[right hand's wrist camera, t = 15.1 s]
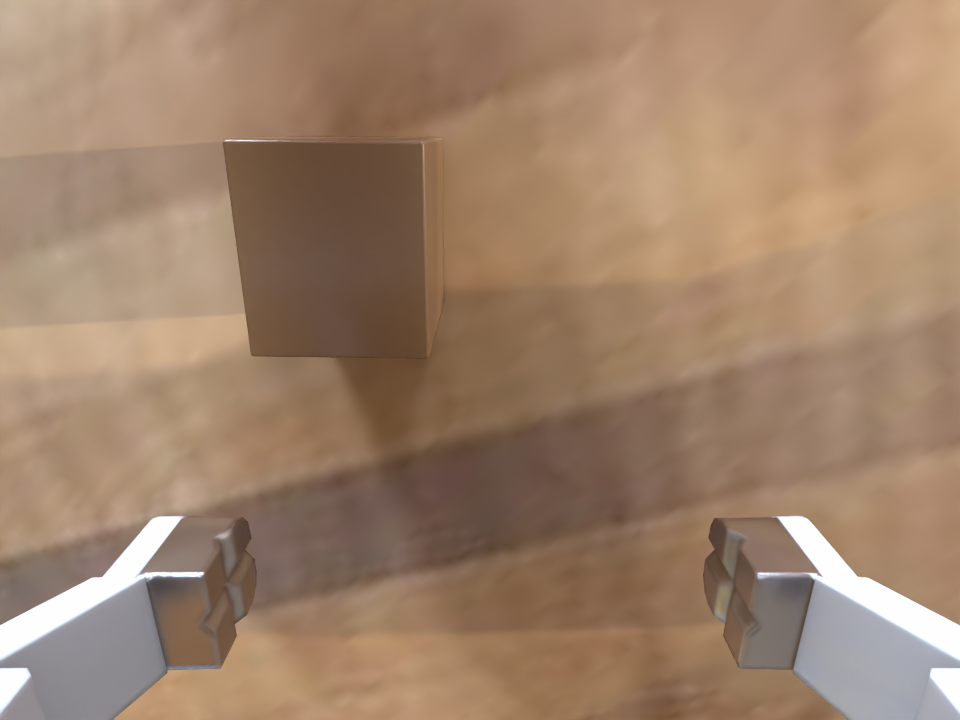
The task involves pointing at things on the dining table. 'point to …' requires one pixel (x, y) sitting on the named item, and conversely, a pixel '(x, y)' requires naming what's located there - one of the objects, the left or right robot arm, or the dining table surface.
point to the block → (339, 243)
